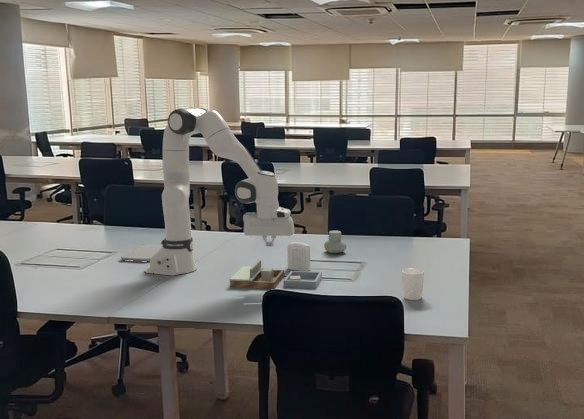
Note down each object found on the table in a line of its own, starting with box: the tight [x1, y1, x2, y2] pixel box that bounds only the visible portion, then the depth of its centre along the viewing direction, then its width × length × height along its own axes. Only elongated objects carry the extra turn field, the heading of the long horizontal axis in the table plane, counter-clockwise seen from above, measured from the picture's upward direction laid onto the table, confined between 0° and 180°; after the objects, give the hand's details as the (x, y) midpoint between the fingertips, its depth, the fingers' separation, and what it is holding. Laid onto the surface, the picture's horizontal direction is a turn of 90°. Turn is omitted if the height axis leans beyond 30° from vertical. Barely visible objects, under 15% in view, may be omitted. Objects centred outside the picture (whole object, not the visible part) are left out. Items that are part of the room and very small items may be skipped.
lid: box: [228, 259, 265, 281], centre depth 260 cm, size 9×19×4 cm, turn 168°
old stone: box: [290, 276, 301, 281], centre depth 254 cm, size 4×4×3 cm
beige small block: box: [261, 267, 274, 282], centre depth 258 cm, size 4×4×5 cm
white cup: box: [401, 268, 425, 301], centre depth 235 cm, size 8×8×10 cm
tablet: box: [120, 244, 162, 261], centre depth 309 cm, size 16×26×2 cm, turn 164°
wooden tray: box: [229, 269, 286, 290], centre depth 259 cm, size 18×18×3 cm
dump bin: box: [282, 270, 323, 289], centre depth 257 cm, size 13×14×3 cm
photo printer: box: [287, 241, 311, 272], centre depth 275 cm, size 10×4×12 cm, turn 60°
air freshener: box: [323, 230, 347, 254], centre depth 305 cm, size 11×8×10 cm
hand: (269, 246), depth 256 cm, fingers closed
